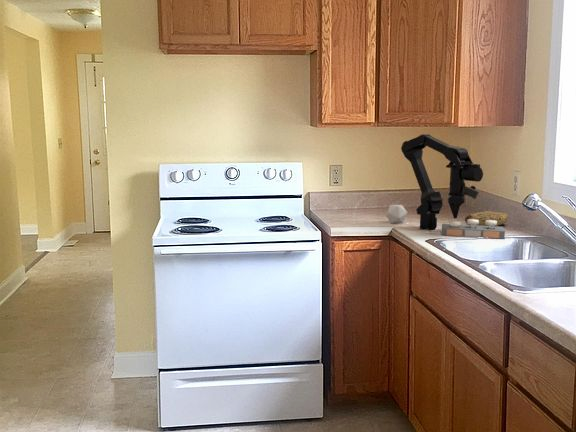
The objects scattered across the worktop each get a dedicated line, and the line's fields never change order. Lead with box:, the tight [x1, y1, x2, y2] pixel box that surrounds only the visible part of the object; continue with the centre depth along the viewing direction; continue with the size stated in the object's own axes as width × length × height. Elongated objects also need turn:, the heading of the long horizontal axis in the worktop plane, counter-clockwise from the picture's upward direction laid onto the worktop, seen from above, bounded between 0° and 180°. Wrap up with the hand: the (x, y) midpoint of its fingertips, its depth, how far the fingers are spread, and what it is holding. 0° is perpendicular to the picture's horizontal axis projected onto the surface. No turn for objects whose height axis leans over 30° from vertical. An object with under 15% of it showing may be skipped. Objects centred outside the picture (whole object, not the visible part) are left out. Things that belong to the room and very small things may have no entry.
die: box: [385, 204, 408, 225], centre depth 292 cm, size 8×9×10 cm
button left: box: [448, 221, 461, 227], centre depth 267 cm, size 4×4×4 cm
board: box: [440, 223, 506, 240], centre depth 265 cm, size 24×11×3 cm, turn 76°
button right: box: [485, 220, 497, 229], centre depth 263 cm, size 4×4×4 cm
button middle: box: [466, 219, 479, 228], centre depth 265 cm, size 4×4×4 cm
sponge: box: [464, 210, 509, 227], centre depth 286 cm, size 13×8×20 cm
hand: (455, 218), depth 266 cm, fingers closed
